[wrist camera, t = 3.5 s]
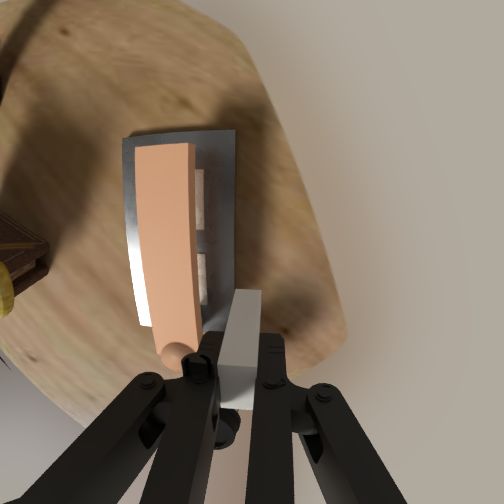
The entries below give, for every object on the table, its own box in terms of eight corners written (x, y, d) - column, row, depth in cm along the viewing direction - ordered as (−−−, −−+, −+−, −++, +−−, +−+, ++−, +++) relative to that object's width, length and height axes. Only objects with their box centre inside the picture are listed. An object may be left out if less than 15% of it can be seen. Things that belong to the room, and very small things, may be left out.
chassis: (127, 138, 30) (98, 136, 23) (236, 130, 29) (228, 123, 23) (143, 320, 38) (126, 346, 32) (235, 329, 37) (230, 359, 31)
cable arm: (145, 147, 23) (133, 147, 21) (195, 144, 23) (186, 142, 20) (166, 354, 31) (159, 369, 28) (205, 359, 31) (200, 374, 28)
